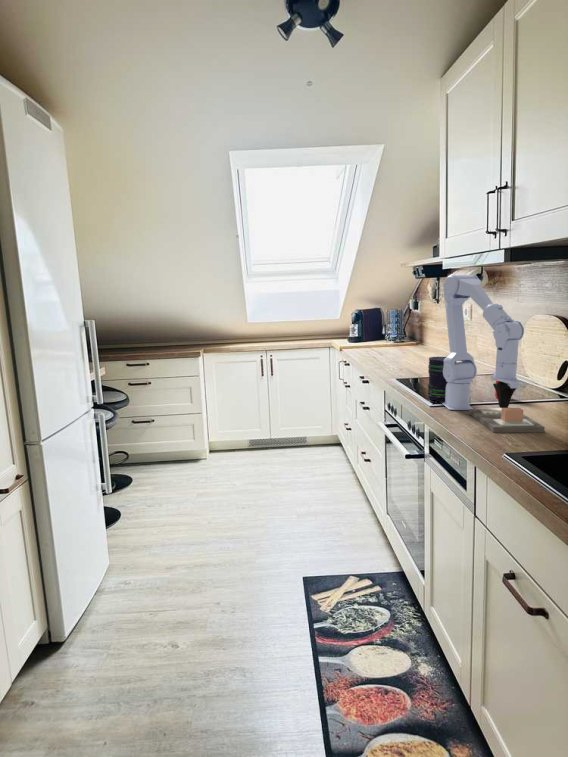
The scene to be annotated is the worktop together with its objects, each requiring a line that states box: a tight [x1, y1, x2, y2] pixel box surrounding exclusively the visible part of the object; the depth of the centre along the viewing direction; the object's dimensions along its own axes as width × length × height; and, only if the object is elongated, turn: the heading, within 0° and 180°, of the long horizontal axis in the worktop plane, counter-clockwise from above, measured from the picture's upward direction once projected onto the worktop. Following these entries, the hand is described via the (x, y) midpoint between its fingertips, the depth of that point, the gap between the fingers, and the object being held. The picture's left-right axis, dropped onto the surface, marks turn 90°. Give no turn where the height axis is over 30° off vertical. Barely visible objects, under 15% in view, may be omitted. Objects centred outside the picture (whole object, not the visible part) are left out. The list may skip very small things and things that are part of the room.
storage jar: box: [427, 356, 457, 403], centre depth 186 cm, size 10×10×15 cm
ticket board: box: [468, 407, 545, 433], centre depth 154 cm, size 22×14×2 cm, turn 178°
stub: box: [493, 407, 534, 426], centre depth 147 cm, size 6×9×4 cm, turn 88°
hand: (503, 407), depth 154 cm, fingers closed
